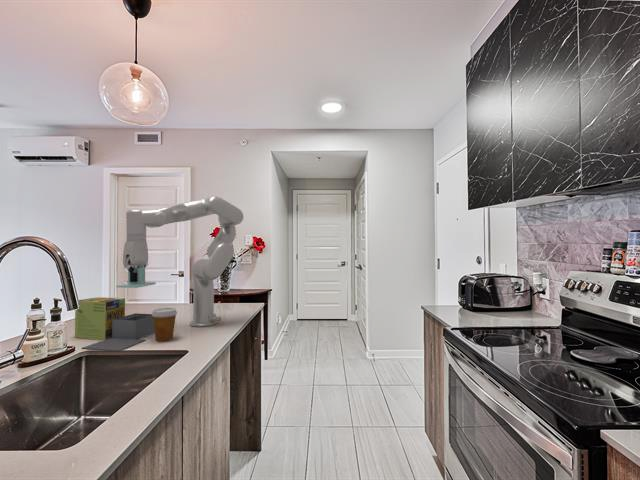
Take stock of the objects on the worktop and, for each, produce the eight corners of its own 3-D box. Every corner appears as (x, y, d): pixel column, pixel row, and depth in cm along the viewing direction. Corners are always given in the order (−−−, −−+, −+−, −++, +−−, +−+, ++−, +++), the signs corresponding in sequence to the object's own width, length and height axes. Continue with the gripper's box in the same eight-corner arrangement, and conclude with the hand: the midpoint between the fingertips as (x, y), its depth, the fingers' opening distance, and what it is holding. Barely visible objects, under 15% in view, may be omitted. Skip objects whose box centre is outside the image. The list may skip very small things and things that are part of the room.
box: (156, 331, 146) (157, 314, 146) (135, 340, 133) (135, 321, 133) (135, 330, 148) (135, 313, 148) (111, 338, 135) (112, 319, 135)
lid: (155, 284, 146) (155, 266, 146) (136, 287, 135) (136, 268, 135) (136, 283, 148) (136, 266, 148) (116, 287, 136) (116, 268, 136)
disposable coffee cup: (182, 337, 137) (182, 308, 137) (162, 344, 129) (162, 313, 129) (165, 335, 141) (166, 307, 141) (145, 340, 133) (146, 311, 133)
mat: (146, 340, 133) (146, 339, 133) (119, 351, 119) (119, 350, 119) (111, 338, 136) (111, 337, 136) (81, 348, 122) (81, 347, 122)
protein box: (105, 340, 134) (105, 302, 134) (74, 338, 137) (74, 300, 137) (125, 333, 144) (126, 297, 144) (95, 331, 147) (96, 296, 147)
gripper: (142, 238, 150) (142, 279, 150) (113, 238, 134) (114, 283, 134) (156, 238, 149) (157, 279, 149) (130, 238, 133) (130, 284, 133)
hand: (136, 281), depth 141 cm, fingers closed on lid, 2 cm apart
